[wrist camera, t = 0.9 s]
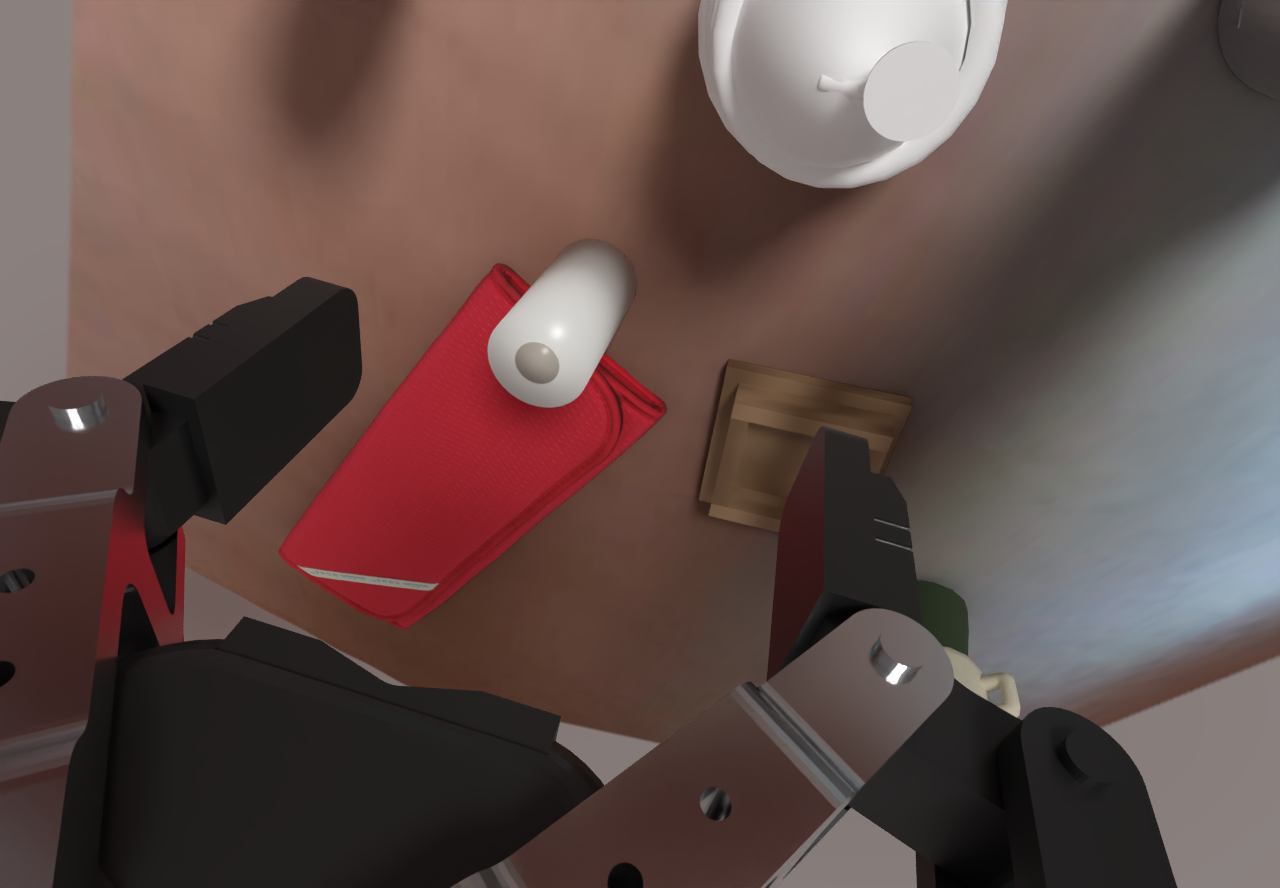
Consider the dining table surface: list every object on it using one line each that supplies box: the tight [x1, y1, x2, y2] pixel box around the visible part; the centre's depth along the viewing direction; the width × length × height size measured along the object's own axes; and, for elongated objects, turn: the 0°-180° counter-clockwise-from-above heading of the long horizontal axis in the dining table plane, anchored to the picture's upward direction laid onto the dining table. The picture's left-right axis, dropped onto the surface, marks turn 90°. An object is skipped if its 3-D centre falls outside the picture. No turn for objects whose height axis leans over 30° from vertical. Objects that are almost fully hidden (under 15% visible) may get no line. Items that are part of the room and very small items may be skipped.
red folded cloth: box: [279, 263, 667, 629], centre depth 59 cm, size 16×41×4 cm, turn 140°
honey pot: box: [698, 0, 1008, 188], centre depth 27 cm, size 13×13×18 cm
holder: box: [699, 359, 912, 533], centre depth 48 cm, size 12×12×4 cm
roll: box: [488, 239, 636, 408], centre depth 41 cm, size 6×6×11 cm
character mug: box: [917, 581, 1020, 717], centre depth 50 cm, size 11×7×13 cm, turn 128°
